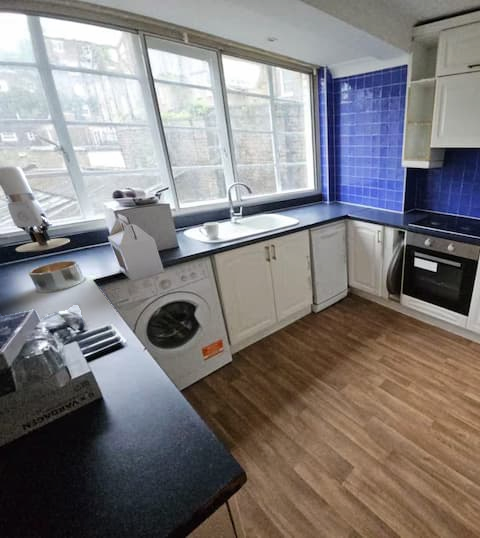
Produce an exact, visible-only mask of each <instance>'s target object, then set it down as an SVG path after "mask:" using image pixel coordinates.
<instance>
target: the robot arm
mask: <svg viewBox="0 0 480 538" xmlns="http://www.w3.org/2000/svg"><path fill="white" fill-rule="evenodd" d="M0 187H1V189H2V191H3V193H4V196H5V199H6V200H7V208H8V211H9V215H10V217H11V219H12V221H13V223H14V226H15V227H16V228H18V229H21V230H23V231H24V232H25V233H26V234H28V235H29V237H30V239H31V242H32V243H33V242H34V243H35V242H37V240H36V238H35V236H34V234H33V232H36V229H37V231H39V232H40V233H39V236H40V238H41V240H42V242H46V241H49V240H50V239H51V237H50V235H49V233H48V231H49V228H51V227H52V226H53V223H51V222H50V220H49V217H48V215H47V213H46V211H45V210H44V208H43V207H42V205H41V203H40V202H39V201H38V199H36V196H35V195H34V192H33V191H32V189H31V186H30V184H29V182H28V179H27V178H26V176H25V173H24V171H23V169H22V167H20V166H18V165H3V166H0ZM35 227H36V228H35Z"/></svg>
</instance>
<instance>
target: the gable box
mask: <svg viewBox="0 0 480 538" xmlns="http://www.w3.org/2000/svg"><path fill="white" fill-rule="evenodd" d="M114 218H115V219H116V220H115V221H114V223H113V226H112V228H111V230H110V233H109V235H108V236H107V239H108V242H109V244H110V247H111V250H112V251H113V255H114V257H115V260H116V263H117V266H118V268H119V270H120V271H121V273H122V274H124V275H125V276H126V277H127V278H128V279H130V281H132V282H136V281H139V280H143V279H147V278H151V277H154V276H156V275H160V274H163V273H165V268H164V266H163V263H162V260H161V257H160V254H159V250H158V248H157V243H156V241H155V238H154V237H152V236H151V235H149V234H148V233H147V232H146V231H144V230H143V229H142V228H141V227H139V226H138V225H137V224H134V223H131V222H130V219H129V217H128V216H125V215H123V214H121V213H117V216H114Z"/></svg>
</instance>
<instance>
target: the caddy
mask: <svg viewBox="0 0 480 538" xmlns="http://www.w3.org/2000/svg"><path fill="white" fill-rule="evenodd" d="M28 275H29V277H30V278H31V281H32V282H33V285H34V287H35V289H36V291H38V292H40V293H50V292H57V291H61V290H66V289H69V288H72V287H74V286H77V285H79V284H81V283H82V282H84V281H85V276H84V275H83V272H82V270H81V267H80V266H79V263H78V261H76V260H63V261H56V262H51V263H46V264H43V265H40V266H37V267H34V268H32V269H30V270H29V271H28Z"/></svg>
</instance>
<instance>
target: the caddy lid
mask: <svg viewBox="0 0 480 538" xmlns="http://www.w3.org/2000/svg"><path fill="white" fill-rule="evenodd" d="M39 233H40V232H39V231H38V230H37V231H36V230H35V232H33V234H34V236H35V238H36V240H37V242H35V243H34V242H33V241H32V242H29V243H24V244H22V245H20V246H18V247H16V248H15V251H16V252H19V253H27V252H29V253H30V252H41V251H46V250H50V249H55V248H58V247H61V246H65V245H66V244H68V243H70V242H71V240H70V238H65V237H62V238H61V237H60V238H50V240H49V241H46V242H42V240H41V238H40V236H39Z"/></svg>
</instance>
